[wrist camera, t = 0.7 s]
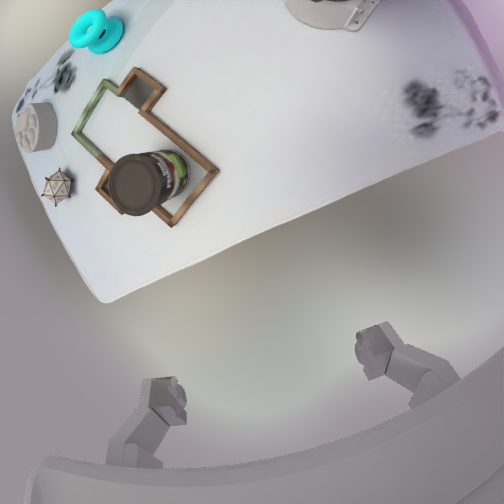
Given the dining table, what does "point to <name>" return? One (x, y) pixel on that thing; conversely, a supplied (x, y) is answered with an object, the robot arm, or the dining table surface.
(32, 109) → the lumpy-topped squat cylinder
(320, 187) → the dining table surface
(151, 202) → the coffee can
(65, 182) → the game die
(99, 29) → the donuts
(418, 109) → the dining table surface
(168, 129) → the brown wooden frame
